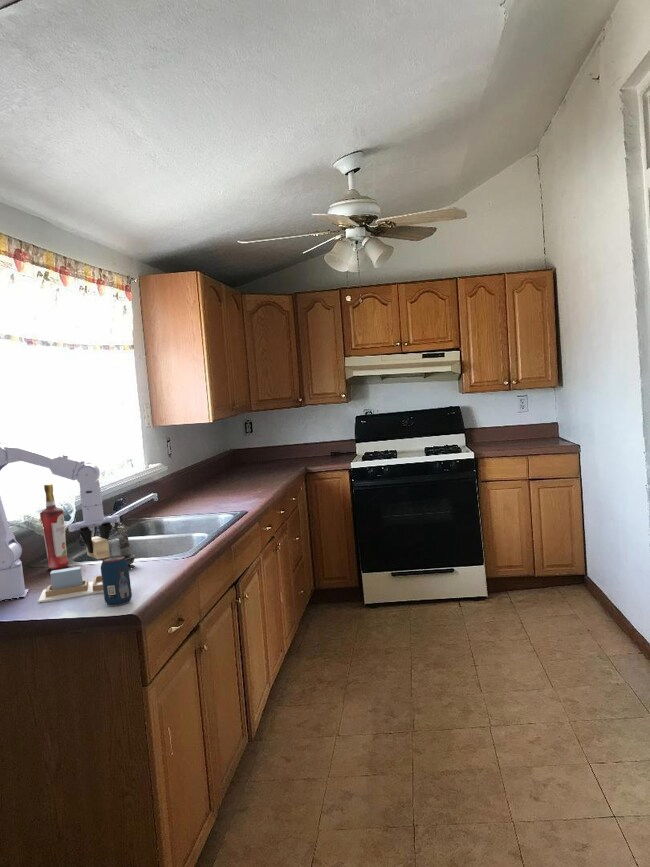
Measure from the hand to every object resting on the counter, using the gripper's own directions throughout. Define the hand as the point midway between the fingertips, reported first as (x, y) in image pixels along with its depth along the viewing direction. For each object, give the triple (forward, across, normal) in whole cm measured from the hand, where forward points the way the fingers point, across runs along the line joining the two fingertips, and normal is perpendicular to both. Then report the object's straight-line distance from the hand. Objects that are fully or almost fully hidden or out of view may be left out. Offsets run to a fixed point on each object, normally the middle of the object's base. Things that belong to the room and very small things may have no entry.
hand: (97, 550), depth 208 cm
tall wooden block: (+2, 0, 0) cm, 2 cm away
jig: (+10, -7, -1) cm, 12 cm away
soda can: (+10, -4, -24) cm, 26 cm away
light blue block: (+9, -10, 0) cm, 13 cm away
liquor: (+10, -2, +36) cm, 37 cm away
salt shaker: (+10, +13, +13) cm, 21 cm away
